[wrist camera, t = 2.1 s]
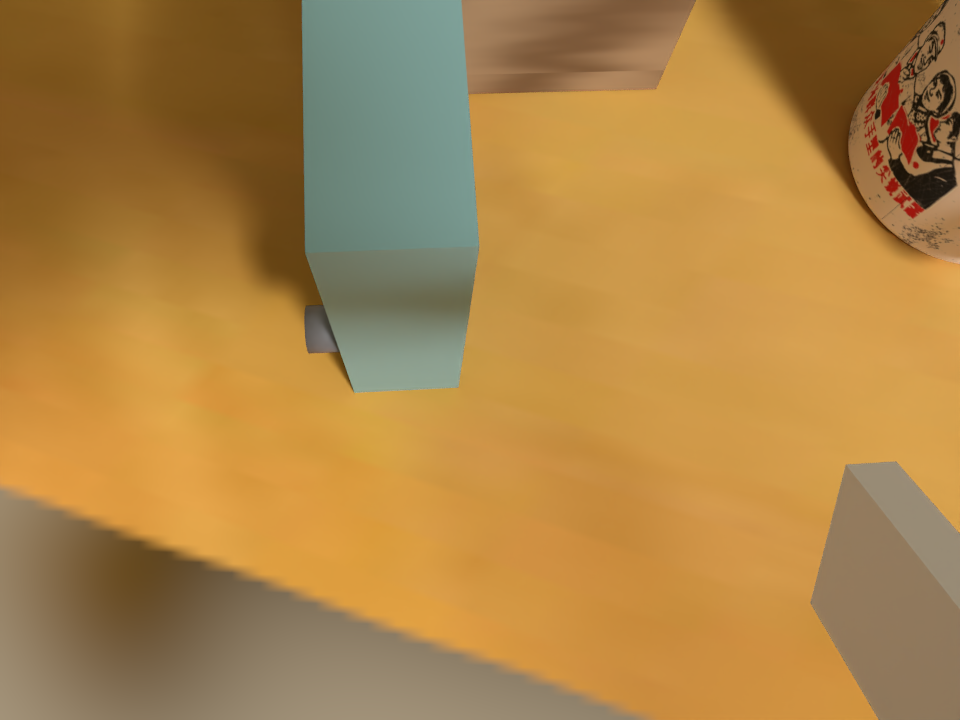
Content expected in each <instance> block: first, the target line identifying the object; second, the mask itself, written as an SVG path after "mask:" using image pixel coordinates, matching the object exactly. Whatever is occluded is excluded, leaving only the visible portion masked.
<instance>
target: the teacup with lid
mask: <svg viewBox="0 0 960 720" xmlns="http://www.w3.org/2000/svg"><path fill="white" fill-rule="evenodd" d="M848 151H849V160H850V165H851V170H852V174H853V176H854V179H855V182H856V185H857V187H858V189H859V191H860V193H861V195H862V197H863V198H864V200H865V202H866V203H867V205H868V206H869V208H870V209H871V210H872V212H873V213H874V214H875V215H876V217H877V218H878V219H879V220H880V221H881V222H882V223H883V224H884V225H885V226H886V227H887V228H888V229H889V230H890V231H891V232H892V233H894V234H895V235H896V236H897V237H899V238H900V239H901V240H903V241H904V242H906V243H907V244H909V245H910V246H912V247H914V248H915V249H917V250H919V251H921V252H923V253H925V254H928V255H930V256H933V257H935V258H938V259H941V260H945V261H948V262H953V263H958V264H960V0H945V1H944V2H943V4H942V5H941V6H940V7H939V8H938V9H937V10H936V12H935V13H934V14H933V15H932V16H931V17H930V19H929V20H928V21H927V22H926V23H925V24H924V25H923V27H922V28H921V29H920V30H919V31H918V32H917V34H916V35H915V36H914V37H913V38H912V39H911V40H910V42H909V43H908V44H907V45H906V46H905V47H904V48H903V50H902V51H901V52H900V53H899V54H898V55H897V57H896V58H895V59H894V60H893V61H892V62H891V63H890V65H889V66H888V67H887V68H886V69H885V70H884V72H883V73H882V74H881V75H880V76H879V77H878V78H877V80H876V81H875V82H874V83H873V84H872V85H871V87H870V88H869V89H868V90H867V92H866V93H865V94H864V95H863V97H862V99H861V100H860V102H859V104H858V106H857V108H856V110H855V112H854V115H853V118H852V121H851V125H850V131H849V140H848Z"/></svg>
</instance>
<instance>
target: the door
mask: <svg viewBox="0 0 960 720" xmlns="http://www.w3.org/2000/svg"><path fill="white" fill-rule="evenodd" d="M302 57H303V132H304V207H305V254H306V257H307V260H308V263H309V265H310V268H311V271H312V274H313V277H314V280H315V282H316V285H317V288H318V291H319V294H320V297H321V299H322V302H323V305H311V306H306V308H305V338H306V346H307V350H308V353H328V352H340V353H341V356H342V359H343V362H344V365H345V367H346V370H347V373H348V376H349V379H350V382H351V384H352V387H353V390H354V393H359V392H378V391H398V390H418V389H437V388H457V387H458V386H459V379H460V372H461V366H462V359H463V352H464V345H465V339H466V332H467V325H468V318H469V312H470V305H471V298H472V291H473V285H474V278H475V271H476V264H477V258H478V251H479V237H478V223H477V209H476V196H475V182H474V168H473V154H472V140H471V126H470V113H469V99H468V85H467V71H466V57H465V44H464V30H463V16H462V2H461V0H302Z"/></svg>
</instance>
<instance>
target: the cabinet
mask: <svg viewBox="0 0 960 720" xmlns="http://www.w3.org/2000/svg"><path fill="white" fill-rule="evenodd" d="M695 1H696V0H461V2H462V16H463V30H464V44H465V57H466V71H467V85H468V94H475V93H516V92H557V91H597V90H638V89H656V88H657V86H658V83H659V81H660V79H661V77H662V75H663V72H664V70H665V68H666V66H667V63H668V61H669V59H670V57H671V55H672V52H673V50H674V48H675V46H676V43H677V41H678V39H679V37H680V35H681V32H682V30H683V28H684V26H685V23H686V21H687V19H688V17H689V15H690V12H691V10H692V8H693V6H694V3H695Z"/></svg>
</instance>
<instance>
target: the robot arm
mask: <svg viewBox="0 0 960 720" xmlns="http://www.w3.org/2000/svg"><path fill="white" fill-rule="evenodd" d="M811 605H812V607H813V608H814V610H815V612H816V613H817V615H818V617H819V619H820V620H821V622H822V624H823V625H824V627H825V629H826V630H827V632H828V634H829V636H830V637H831V639H832V641H833V642H834V644H835V646H836V648H837V649H838V651H839V653H840V654H841V656H842V658H843V659H844V661H845V663H846V665H847V666H848V668H849V670H850V671H851V673H852V675H853V676H854V678H855V680H856V682H857V683H858V685H859V687H860V688H861V690H862V692H863V694H864V695H865V697H866V699H867V700H868V702H869V704H870V705H871V707H872V709H873V711H874V712H875V714H876V716H877V717H878V719H879V720H960V534H959V532H958V531H957V530H956V529H955V528H954V527H953V526H952V525H951V523H950V522H949V521H948V520H947V519H946V518H945V517H944V515H943V514H942V513H941V512H940V511H939V510H938V509H937V507H936V506H935V505H934V504H933V503H932V502H931V501H930V499H929V498H928V497H927V496H926V495H925V494H924V493H923V492H922V490H921V489H920V488H919V487H918V486H917V485H916V484H915V482H914V481H913V480H912V479H911V478H910V477H909V476H908V474H907V473H906V472H905V471H904V470H903V469H902V468H901V467H900V465H899V464H898V463H897V462H882V463H865V464H849V465H846V466H845V470H844V474H843V478H842V482H841V486H840V490H839V494H838V497H837V501H836V505H835V509H834V513H833V517H832V521H831V525H830V529H829V533H828V537H827V540H826V544H825V548H824V552H823V556H822V560H821V564H820V568H819V572H818V576H817V580H816V583H815V587H814V591H813V595H812V599H811Z"/></svg>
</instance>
